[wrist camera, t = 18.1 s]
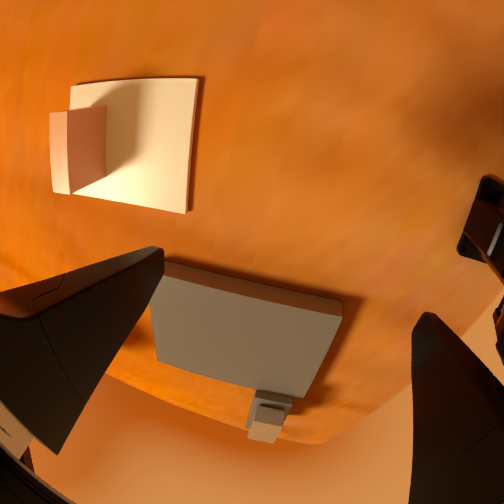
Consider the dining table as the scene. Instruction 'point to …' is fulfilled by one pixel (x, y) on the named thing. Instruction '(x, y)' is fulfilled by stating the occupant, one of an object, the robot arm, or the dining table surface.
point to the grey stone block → (266, 424)
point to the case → (243, 332)
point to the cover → (127, 142)
